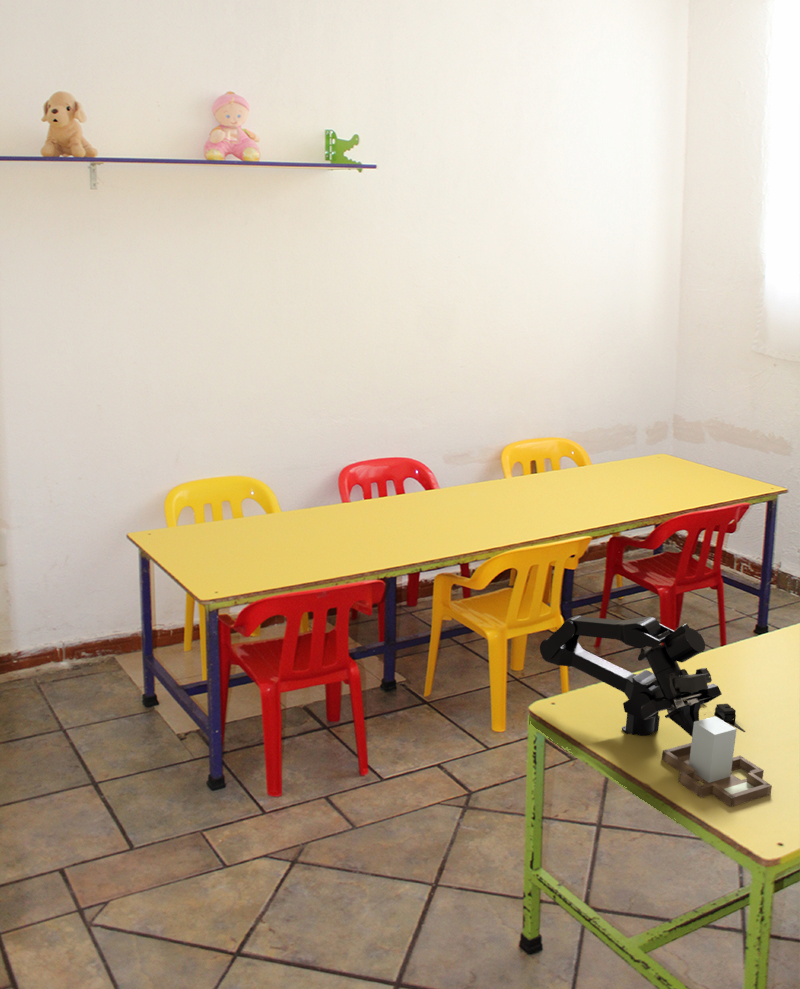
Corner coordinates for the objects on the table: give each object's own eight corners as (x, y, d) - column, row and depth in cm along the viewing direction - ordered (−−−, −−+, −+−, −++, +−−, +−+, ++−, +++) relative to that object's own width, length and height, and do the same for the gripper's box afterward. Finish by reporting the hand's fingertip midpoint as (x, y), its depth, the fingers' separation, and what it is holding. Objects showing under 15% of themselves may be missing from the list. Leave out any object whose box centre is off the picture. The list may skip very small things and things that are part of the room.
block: (688, 768, 208) (693, 721, 205) (709, 762, 210) (715, 716, 207) (708, 782, 202) (714, 734, 200) (730, 776, 205) (736, 728, 202)
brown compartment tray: (650, 766, 210) (651, 753, 209) (709, 750, 218) (711, 737, 217) (718, 816, 193) (720, 801, 192) (780, 796, 200) (782, 782, 200)
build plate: (752, 736, 225) (754, 718, 224) (723, 739, 224) (725, 721, 222) (723, 711, 237) (725, 694, 236) (696, 713, 235) (698, 696, 234)
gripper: (654, 665, 205) (687, 736, 198) (720, 649, 213) (753, 717, 207) (626, 684, 213) (657, 753, 207) (690, 668, 222) (721, 734, 216)
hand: (698, 739), depth 209 cm, fingers closed
